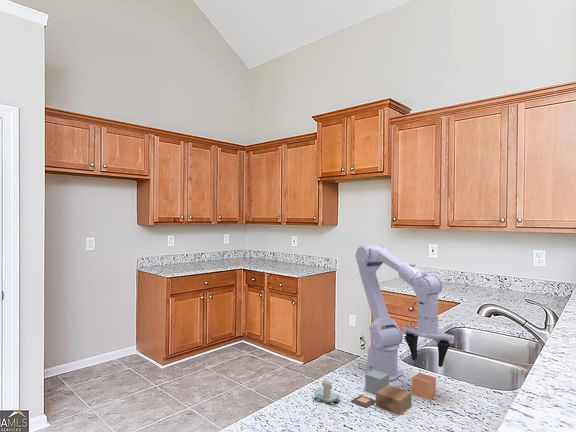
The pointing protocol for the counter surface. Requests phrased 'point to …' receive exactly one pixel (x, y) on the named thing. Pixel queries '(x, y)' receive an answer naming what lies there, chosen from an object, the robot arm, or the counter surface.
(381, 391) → the walnut block
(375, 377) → the slate block
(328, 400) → the pacifier
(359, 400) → the card
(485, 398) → the counter surface
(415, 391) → the terracotta block
